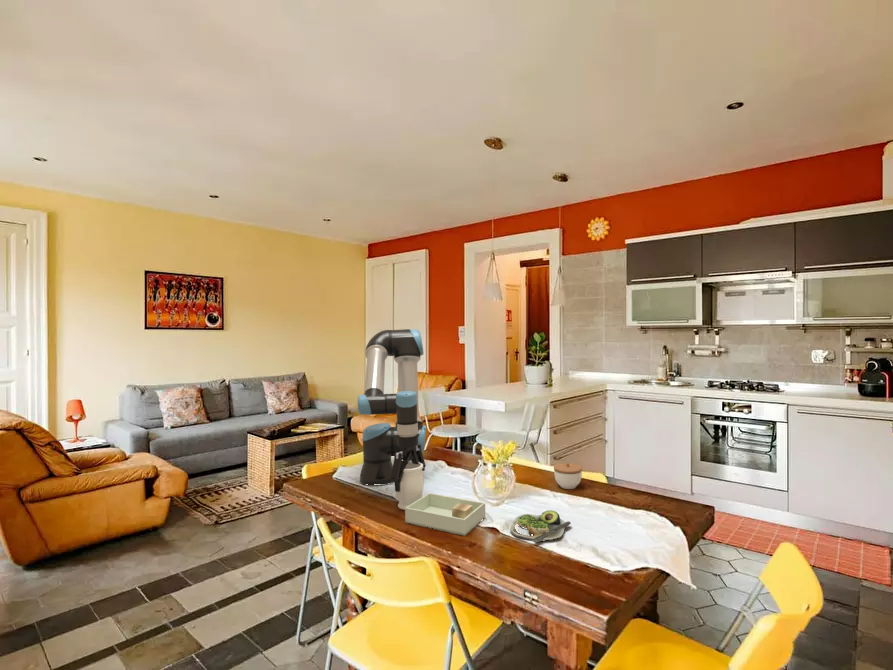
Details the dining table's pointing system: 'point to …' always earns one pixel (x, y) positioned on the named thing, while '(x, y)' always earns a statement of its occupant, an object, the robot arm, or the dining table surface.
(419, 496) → the jar
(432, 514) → the tote
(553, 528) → the avocado toast plate
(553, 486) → the dining table surface
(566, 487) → the lidded jar
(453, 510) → the cube
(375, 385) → the robot arm
